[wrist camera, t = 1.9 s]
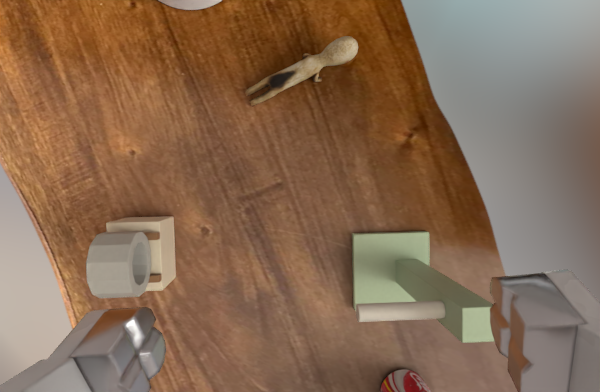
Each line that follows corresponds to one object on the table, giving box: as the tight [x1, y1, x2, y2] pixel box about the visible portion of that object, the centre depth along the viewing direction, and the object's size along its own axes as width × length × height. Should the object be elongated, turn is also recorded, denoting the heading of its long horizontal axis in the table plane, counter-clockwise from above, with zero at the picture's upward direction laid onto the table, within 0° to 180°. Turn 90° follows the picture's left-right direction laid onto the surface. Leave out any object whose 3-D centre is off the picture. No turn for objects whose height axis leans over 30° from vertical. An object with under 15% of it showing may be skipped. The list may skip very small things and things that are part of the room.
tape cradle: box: [106, 216, 176, 291], centre depth 47 cm, size 6×8×7 cm
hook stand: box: [352, 231, 494, 343], centre depth 42 cm, size 12×10×20 cm
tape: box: [86, 231, 151, 298], centre depth 41 cm, size 4×7×7 cm, turn 1°
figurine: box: [245, 36, 358, 106], centre depth 49 cm, size 4×4×15 cm
